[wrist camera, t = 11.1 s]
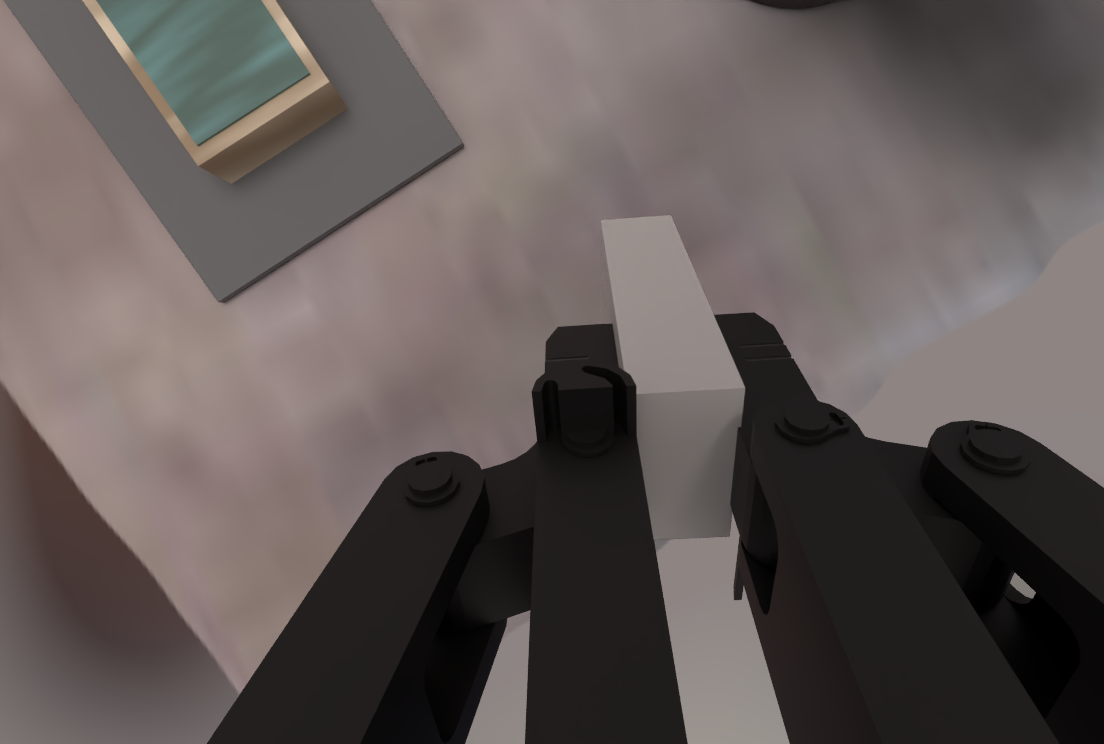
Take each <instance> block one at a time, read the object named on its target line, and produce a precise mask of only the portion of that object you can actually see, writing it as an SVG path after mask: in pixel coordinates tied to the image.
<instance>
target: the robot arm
mask: <svg viewBox="0 0 1104 744" xmlns="http://www.w3.org/2000/svg"><path fill="white" fill-rule="evenodd" d="M755 1H758V2H761V3H764V4H768V5H772V6H777V7H786V8H805V7H813V6H818V5H822V4H826V3H829V2H832V1H835V0H755ZM601 241H602V268H603V295H604V321H605V324H596V325H580V326H564V327H557V329H556V330H555V331H554V332H553V334H552V335H551V336H550V338H549V339H548V340H547V341H546V355H545V360H546V362H545V373H544V374H543V375H542V376H541V377H540V378H538V379H537V380H536V382H535V385H534V387H533V390H532V399H533V407H534V416H535V425H536V433H537V442H536V444H535V445H534V446H533V447H531V448H530V449H529V450H528V451H527V452H526V453H524V454H522V455H521V456H519V457H517V458H516V459H514V460H511V461H508V462H506V463H503V464H500V465H497V466H493V467H490V468H486V469H483V470H481V468H480V465H479V464H478V463H476V462H475V461H474V460H473V459H471V458H470V457H469V456H466V455H463V454H459V453H455V452H431V453H427V454H424V455H420V456H416V457H413V458H411V459H410V460H408V461H406V462H404V463H403V464H401V465H399V466H397V467H396V468H395V469H394V470H393V471H392V472H391V473H390V474H389V475H388V476H387V477H386V478H385V479H384V481H383V482H382V484H381V485H380V487H379V488H378V490H377V491H376V493H375V494H374V496H373V497H372V499H371V500H370V502H369V503H368V505H367V506H366V508H365V509H364V511H363V512H362V514H361V515H360V517H359V518H358V520H357V521H356V522H355V524H354V525H353V527H352V528H351V530H350V531H349V533H348V534H347V536H346V537H345V539H344V540H343V542H342V543H341V545H340V546H339V548H338V549H337V551H336V552H335V554H334V555H333V557H332V558H331V560H330V561H329V563H328V564H327V566H326V567H325V569H324V570H323V572H322V573H321V575H320V576H319V578H318V579H317V581H316V582H315V583H314V585H313V586H312V588H311V589H310V591H309V592H308V594H307V595H306V597H305V598H304V600H303V601H302V603H301V604H300V606H299V607H298V609H297V610H296V612H295V613H294V615H293V616H292V618H291V619H290V621H289V622H288V624H287V625H286V627H285V628H284V630H283V631H282V633H281V634H280V636H279V637H278V639H277V640H276V642H275V643H274V645H273V646H272V647H271V649H270V650H269V652H268V653H267V655H266V656H265V658H264V659H263V661H262V662H261V664H260V665H259V667H258V668H257V670H256V671H255V673H254V674H253V676H252V677H251V679H250V680H249V682H248V683H247V685H246V686H245V688H244V689H243V691H242V692H241V694H240V695H239V697H238V698H237V700H236V701H235V703H234V704H233V706H232V707H231V709H230V710H229V711H228V713H227V715H226V716H225V717H224V719H223V720H222V722H221V723H220V725H219V726H218V728H217V729H216V731H215V732H214V734H213V735H212V737H211V738H210V740H209V741H208V743H207V744H465V742H466V739H467V736H468V734H469V731H470V728H471V725H472V722H473V719H474V716H475V714H476V710H477V708H478V705H479V702H480V699H481V696H482V693H483V691H484V688H485V685H486V682H487V679H488V676H489V674H490V671H491V668H492V665H493V662H494V659H495V656H496V654H497V651H498V648H499V645H500V642H501V639H502V637H503V634H504V631H505V628H506V624H507V618H509V617H512V616H514V615H517V614H520V613H523V612H526V611H529V610H531V612H530V636H529V660H528V684H527V708H526V733H525V744H688V743H687V738H686V732H685V726H684V720H683V714H682V707H681V702H680V695H679V689H678V683H677V678H676V671H675V665H674V659H673V653H672V647H671V642H670V635H669V629H668V623H667V617H666V611H665V604H664V598H663V592H662V586H661V581H660V575H659V569H658V562H657V557H656V550H655V544H654V540H664V539H685V538H707V537H727V536H730V529H731V519H732V512H733V515H734V518H735V521H736V525H737V528H738V531H739V534H740V537H739V545H738V554H737V562H736V571H735V579H734V600H741V599H742V592H743V585H744V587H745V591H746V594H747V598H748V601H749V604H750V608H751V611H752V615H753V618H754V622H755V625H756V629H757V632H758V635H759V639H760V643H761V646H762V649H763V653H764V656H765V660H766V663H767V667H768V670H769V673H770V677H771V680H772V684H773V687H774V690H775V694H776V698H777V701H778V704H779V708H780V711H781V714H782V718H783V722H784V725H785V729H786V732H787V735H788V739H789V742H790V744H1104V488H1103V487H1102V486H1100V485H1099V484H1098V483H1096V482H1095V481H1093V480H1092V479H1090V478H1089V477H1088V476H1086V475H1085V474H1083V473H1082V472H1081V471H1079V470H1078V469H1076V468H1075V467H1074V466H1072V465H1071V464H1069V463H1068V462H1066V461H1065V460H1064V459H1062V458H1061V457H1059V456H1058V455H1057V454H1055V453H1054V452H1052V451H1051V450H1050V449H1048V448H1047V447H1045V446H1044V445H1042V444H1041V443H1039V442H1037V441H1036V440H1034V439H1032V438H1030V437H1029V436H1027V435H1025V434H1023V433H1021V432H1019V431H1016V430H1014V429H1011V428H1007V427H1004V426H1001V425H998V424H994V423H988V422H980V421H973V420H970V421H958V422H951V423H948V424H946V425H943V426H941V427H939V428H937V429H936V431H935V432H934V434H933V435H932V436H931V438H930V441H929V444H928V447H927V448H924V447H918V446H911V445H905V444H898V443H892V442H885V441H881V440H876V439H871V438H867V437H865V436H864V435H863V433H862V431H861V430H860V428H859V427H858V425H857V424H856V423H855V422H854V421H853V420H852V419H851V418H850V417H849V416H848V415H847V414H846V413H845V412H843V411H841V410H839V409H837V408H835V407H834V406H832V405H830V404H826V403H823V402H819V401H818V400H817V399H816V397H815V395H814V393H813V392H812V390H811V388H810V387H809V385H808V383H807V381H806V380H805V378H804V376H803V375H802V373H801V371H800V369H799V368H798V366H797V364H796V363H795V361H794V359H791V354H790V352H789V351H788V349H787V347H786V345H784V344H783V340H782V339H781V337H780V335H779V333H778V332H777V330H776V328H775V327H774V325H772V324H771V323H769V322H768V321H766V320H765V319H763V318H762V317H760V316H759V315H757V314H756V313H738V314H722V315H714V314H713V312H712V310H711V307H710V305H709V303H708V300H707V298H706V296H705V294H704V291H703V289H702V287H701V284H700V282H699V280H698V277H697V275H696V273H695V270H694V268H693V266H692V263H691V261H690V259H689V256H688V254H687V252H686V250H685V247H684V245H683V243H682V240H681V238H680V236H679V233H678V231H677V229H676V226H675V224H674V222H673V219H672V217H671V215H665V216H651V217H637V218H623V219H609V220H601ZM1014 573H1016V574H1017V575H1018V576H1020V578H1021V579H1023V580H1024V581H1025V582H1026V583H1027V584H1028V585H1029V586H1030V587H1031V588H1032V589H1033V590H1034V591H1035V592H1036V594H1035V596H1034V598H1033V599H1031V598H1028V597H1025V596H1024V595H1023V594H1021V593H1020V592H1019V591H1017V590H1016V589H1015V588H1014V587H1013V586H1012V585H1011V584H1010V581H1011V579H1012V577H1013V575H1014Z"/></svg>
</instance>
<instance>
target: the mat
mask: <svg viewBox="0 0 1104 744" xmlns="http://www.w3.org/2000/svg"><path fill="white" fill-rule="evenodd" d="M4 2H5V3H6V5H7V6H8V7H9V9H10V10H11V12H12V13H13V14H14V16H15V17H16V19H17V20H18V21H19V23H20V24H21V26H22V27H23V28H24V30H25V31H26V33H27V34H28V35H29V37H30V38H31V40H32V41H33V43H34V44H35V45H36V47H37V48H38V50H39V51H40V52H41V54H42V55H43V57H44V58H45V59H46V61H47V62H48V64H49V65H50V66H51V68H52V69H53V71H54V72H55V73H56V75H57V76H58V78H59V79H60V80H61V82H62V83H63V85H64V86H65V87H66V89H67V90H68V92H69V93H70V95H71V96H72V97H73V99H74V100H75V102H76V103H77V104H78V106H79V107H80V109H81V110H82V111H83V113H84V114H85V116H86V117H87V118H88V120H89V121H90V123H91V124H92V125H93V127H94V128H95V130H96V131H97V132H98V134H99V135H100V137H101V138H102V139H103V141H104V142H105V144H106V145H107V147H108V148H109V149H110V151H111V152H112V154H113V155H114V156H115V158H116V159H117V161H118V162H119V163H120V165H121V166H122V168H123V169H124V170H125V172H126V173H127V175H128V176H129V177H130V179H131V180H132V182H133V183H134V184H135V186H136V187H137V189H138V190H139V191H140V193H141V194H142V196H143V197H144V199H145V200H146V201H147V203H148V204H149V206H150V207H151V208H152V210H153V211H154V213H155V214H156V215H157V217H158V218H159V220H160V221H161V222H162V224H163V225H164V227H165V228H166V229H167V231H168V232H169V234H170V235H171V236H172V238H173V239H174V241H175V242H176V243H177V245H178V246H179V248H180V249H181V250H182V252H183V253H184V255H185V256H186V258H187V259H188V260H189V262H190V263H191V265H192V266H193V267H194V269H195V270H196V272H197V273H198V274H199V276H200V277H201V279H202V280H203V281H204V283H205V284H206V286H207V287H208V288H209V290H210V291H211V293H212V294H213V295H214V297H215V298H216V300H217V301H218V302H226V301H227V300H229V299H230V298H232V297H233V296H235V295H236V294H238V293H239V292H241V291H242V290H244V289H246V288H247V287H249V286H250V285H252V284H253V283H255V282H256V281H258V280H259V279H261V278H262V277H264V276H266V275H267V274H269V273H270V272H272V271H273V270H275V269H276V268H278V267H279V266H281V265H282V264H284V263H286V262H287V261H289V260H290V259H292V258H293V257H295V256H296V255H298V254H299V253H301V252H302V251H304V250H306V249H307V248H309V247H310V246H312V245H313V244H315V243H316V242H318V241H319V240H321V239H322V238H324V237H326V236H327V235H329V234H330V233H332V232H333V231H335V230H336V229H338V228H339V227H341V226H342V225H344V224H346V223H347V222H349V221H350V220H352V219H353V218H355V217H356V216H358V215H359V214H361V213H362V212H364V211H365V210H367V209H369V208H370V207H372V206H373V205H375V204H376V203H378V202H379V201H381V200H382V199H384V198H385V197H387V196H389V195H390V194H392V193H393V192H395V191H396V190H398V189H399V188H401V187H402V186H404V185H405V184H407V183H409V182H410V181H412V180H413V179H415V178H416V177H418V176H419V175H421V174H422V173H424V172H425V171H427V170H429V169H430V168H432V167H433V166H435V165H436V164H438V163H439V162H441V161H442V160H444V159H445V158H447V157H449V156H450V155H452V154H453V153H455V152H456V151H458V150H459V149H461V148H462V147H464V145H463V142H462V140H461V139H460V137H459V136H458V134H457V133H456V131H455V130H454V128H453V127H452V125H451V123H450V122H449V120H448V119H447V117H446V116H445V114H444V113H443V111H442V110H441V108H440V107H439V105H438V103H437V102H436V100H435V99H434V97H433V96H432V94H431V93H430V91H429V90H428V88H427V86H426V85H425V83H424V82H423V80H422V79H421V77H420V76H419V74H418V73H417V71H416V70H415V68H414V66H413V65H412V63H411V62H410V60H409V59H408V57H407V56H406V54H405V53H404V51H403V50H402V48H401V46H400V45H399V43H398V42H397V40H396V39H395V37H394V36H393V34H392V33H391V31H390V30H389V28H388V26H387V25H386V23H385V22H384V20H383V19H382V17H381V16H380V14H379V13H378V11H377V9H376V8H375V6H374V5H373V3H372V2H371V0H277V2H278V3H279V5H280V6H281V8H282V9H283V11H284V12H285V14H286V15H287V17H288V18H289V20H290V21H291V23H292V24H293V26H294V27H295V29H296V30H297V32H298V33H299V35H300V36H301V38H302V39H303V41H304V42H305V44H306V45H307V47H308V48H309V50H310V51H311V53H312V54H313V56H314V57H315V59H316V60H317V62H318V63H319V65H320V66H321V68H322V69H323V71H324V72H325V74H326V75H327V77H328V78H329V80H330V81H331V83H332V84H333V86H334V87H335V89H336V90H337V92H338V93H339V95H340V96H341V98H342V99H343V101H344V102H345V104H346V105H347V107H348V109H347V110H345V111H344V112H342V113H340V114H339V115H337V116H336V117H334V118H333V119H331V120H330V121H328V122H327V123H325V124H323V125H322V126H320V127H319V128H317V129H316V130H314V131H313V132H311V133H309V134H308V135H306V136H305V137H303V138H302V139H300V140H299V141H297V142H296V143H294V144H292V145H291V146H289V147H288V148H286V149H285V150H283V151H282V152H280V153H278V154H277V155H275V156H274V157H272V158H271V159H269V160H268V161H266V162H265V163H263V164H261V165H260V166H258V167H257V168H255V169H254V170H252V171H251V172H249V173H247V174H246V175H244V176H243V177H241V178H240V179H238V180H237V181H235V182H234V183H232V184H231V183H229V182H227V181H225V180H223V179H221V178H219V177H217V176H216V175H214V174H212V173H210V172H208V171H206V170H204V169H202V168H201V167H199V166H198V165H197V164H196V162H195V161H194V160H193V158H192V157H191V155H190V154H189V152H188V151H187V150H186V148H185V147H184V145H183V144H182V142H181V141H180V140H179V138H178V137H177V135H176V134H175V132H174V131H173V130H172V128H171V127H170V125H169V124H168V122H167V121H166V119H165V118H164V117H163V115H162V114H161V112H160V111H159V109H158V108H157V107H156V105H155V104H154V102H153V101H152V99H151V98H150V97H149V95H148V94H147V92H146V91H145V89H144V88H143V87H142V85H141V84H140V82H139V81H138V79H137V78H136V77H135V75H134V74H133V72H132V71H131V69H130V68H129V66H128V65H127V64H126V62H125V61H124V59H123V58H122V56H121V55H120V54H119V52H118V51H117V49H116V48H115V46H114V45H113V44H112V42H111V41H110V39H109V38H108V36H107V35H106V34H105V32H104V31H103V29H102V28H101V26H100V25H99V24H98V22H97V21H96V19H95V18H94V16H93V15H92V13H91V12H90V11H89V9H88V8H87V6H86V5H85V3H84V2H83V1H82V0H4Z"/></svg>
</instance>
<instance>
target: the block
mask: <svg viewBox="0 0 1104 744" xmlns="http://www.w3.org/2000/svg"><path fill="white" fill-rule="evenodd" d="M82 1H83V2H84V3H85V5H86V6H87V8H88V9H89V11H90V12H91V13H92V15H93V16H94V18H95V19H96V21H97V22H98V24H99V25H100V26H101V28H102V29H103V31H104V32H105V34H106V35H107V36H108V38H109V39H110V41H111V42H112V44H113V45H114V46H115V48H116V49H117V51H118V52H119V54H120V55H121V56H122V58H123V59H124V61H125V62H126V64H127V65H128V66H129V68H130V69H131V71H132V72H133V74H134V75H135V77H136V78H137V79H138V81H139V82H140V84H141V85H142V87H143V88H144V89H145V91H146V92H147V94H148V95H149V97H150V98H151V99H152V101H153V102H154V104H155V105H156V107H157V108H158V109H159V111H160V112H161V114H162V115H163V117H164V118H165V119H166V121H167V122H168V124H169V125H170V127H171V128H172V130H173V131H174V132H175V134H176V135H177V137H178V138H179V140H180V141H181V142H182V144H183V145H184V147H185V148H186V150H187V151H188V152H189V154H190V155H191V157H192V158H193V160H194V161H195V162H196V164H197V165H198V166H199V167H201V168H202V169H204V170H206V171H208V172H210V173H212V174H214V175H216V176H217V177H219V178H221V179H223V180H225V181H227V182H229V183H231V184H232V183H234V182H235V181H237V180H238V179H240V178H241V177H243V176H244V175H246V174H247V173H249V172H251V171H252V170H254V169H255V168H257V167H258V166H260V165H261V164H263V163H265V162H266V161H268V160H269V159H271V158H272V157H274V156H275V155H277V154H278V153H280V152H282V151H283V150H285V149H286V148H288V147H289V146H291V145H292V144H294V143H296V142H297V141H299V140H300V139H302V138H303V137H305V136H306V135H308V134H309V133H311V132H313V131H314V130H316V129H317V128H319V127H320V126H322V125H323V124H325V123H327V122H328V121H330V120H331V119H333V118H334V117H336V116H337V115H339V114H340V113H342V112H344V111H345V110H347V109H348V107H347V105H346V104H345V102H344V101H343V99H342V98H341V96H340V95H339V93H338V92H337V90H336V89H335V87H334V86H333V84H332V83H331V81H330V80H329V78H328V77H327V75H326V74H325V72H324V71H323V69H322V68H321V66H320V65H319V63H318V62H317V60H316V59H315V57H314V56H313V54H312V53H311V51H310V50H309V48H308V47H307V45H306V44H305V42H304V41H303V39H302V38H301V36H300V35H299V33H298V32H297V30H296V29H295V27H294V26H293V24H292V23H291V21H290V20H289V18H288V17H287V15H286V14H285V12H284V11H283V9H282V8H281V6H280V5H279V3H278V2H277V0H82Z"/></svg>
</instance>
